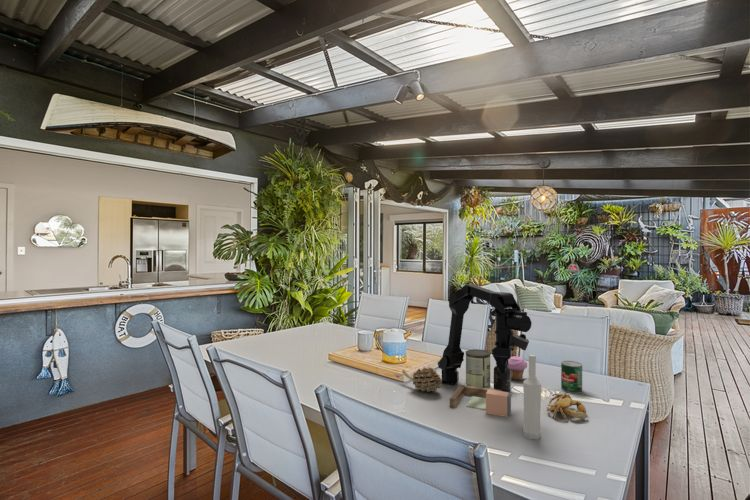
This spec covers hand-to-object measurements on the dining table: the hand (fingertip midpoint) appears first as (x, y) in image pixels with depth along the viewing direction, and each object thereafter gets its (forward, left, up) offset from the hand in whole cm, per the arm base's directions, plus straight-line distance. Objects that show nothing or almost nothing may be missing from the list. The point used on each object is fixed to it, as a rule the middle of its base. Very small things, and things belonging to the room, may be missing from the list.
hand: (504, 370), depth 149 cm
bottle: (+11, -19, -14) cm, 26 cm away
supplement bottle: (-3, +20, -14) cm, 25 cm away
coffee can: (-13, +21, -14) cm, 29 cm away
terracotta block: (-1, -5, -14) cm, 15 cm away
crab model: (+21, +4, -14) cm, 26 cm away
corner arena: (-10, +2, -14) cm, 17 cm away
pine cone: (-34, +6, -14) cm, 38 cm away
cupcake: (+1, +37, -14) cm, 40 cm away
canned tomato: (+23, +31, -14) cm, 41 cm away
